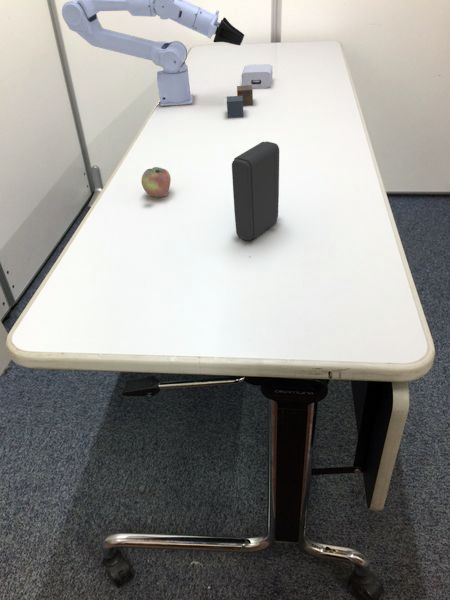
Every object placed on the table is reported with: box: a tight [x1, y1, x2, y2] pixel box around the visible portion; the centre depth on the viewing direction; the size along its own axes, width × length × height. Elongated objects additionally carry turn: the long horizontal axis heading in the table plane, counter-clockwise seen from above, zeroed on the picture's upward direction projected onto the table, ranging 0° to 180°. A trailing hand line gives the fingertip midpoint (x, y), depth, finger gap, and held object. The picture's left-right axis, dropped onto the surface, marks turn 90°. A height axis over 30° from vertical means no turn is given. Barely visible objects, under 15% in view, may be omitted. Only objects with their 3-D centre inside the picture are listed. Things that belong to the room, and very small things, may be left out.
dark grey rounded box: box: [231, 140, 280, 242], centre depth 80 cm, size 9×4×15 cm, turn 141°
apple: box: [140, 166, 172, 198], centre depth 95 cm, size 6×8×6 cm
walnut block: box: [236, 85, 254, 107], centre depth 135 cm, size 4×4×4 cm
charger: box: [240, 63, 273, 89], centre depth 151 cm, size 5×9×15 cm
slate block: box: [226, 95, 245, 119], centre depth 129 cm, size 4×4×4 cm
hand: (242, 40), depth 129 cm, fingers open, 7 cm apart
